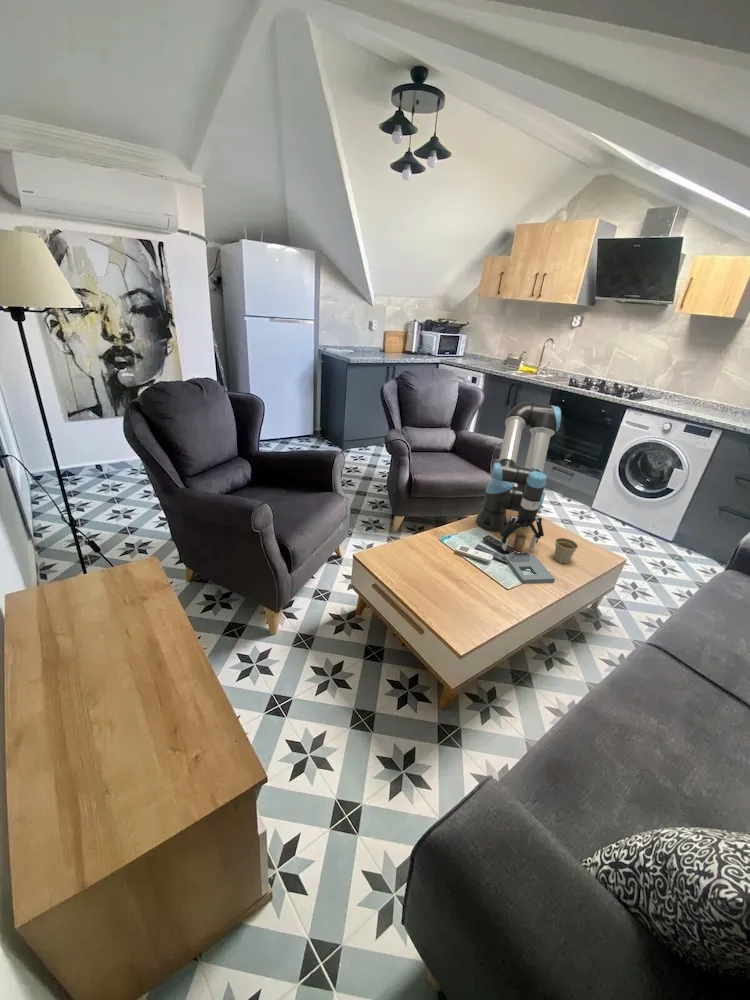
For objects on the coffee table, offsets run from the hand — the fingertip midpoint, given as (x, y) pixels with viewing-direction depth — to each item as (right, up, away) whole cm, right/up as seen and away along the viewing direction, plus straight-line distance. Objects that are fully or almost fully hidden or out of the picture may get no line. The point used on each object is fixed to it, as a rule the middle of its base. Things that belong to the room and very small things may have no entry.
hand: (517, 549), depth 188 cm
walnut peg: (0, -1, +1) cm, 2 cm away
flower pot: (+19, -5, -2) cm, 19 cm away
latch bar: (-2, -3, -9) cm, 10 cm away
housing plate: (0, -8, -12) cm, 14 cm away
